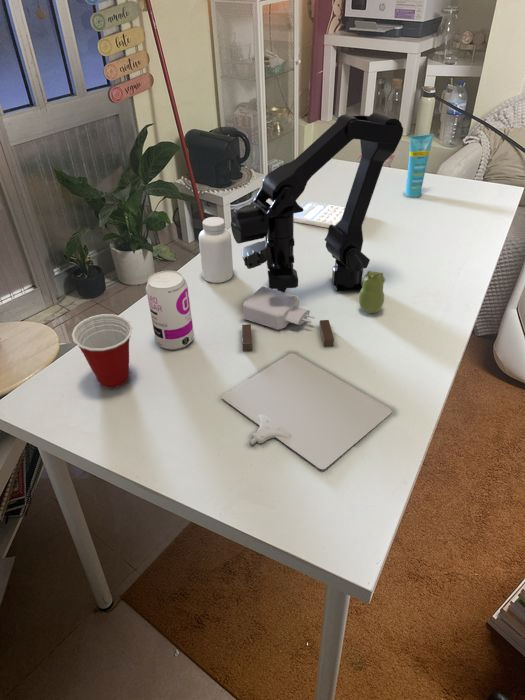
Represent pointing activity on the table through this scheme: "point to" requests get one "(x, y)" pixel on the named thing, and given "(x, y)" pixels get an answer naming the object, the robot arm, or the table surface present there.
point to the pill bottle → (215, 250)
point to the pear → (372, 292)
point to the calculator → (319, 214)
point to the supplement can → (170, 309)
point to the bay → (323, 325)
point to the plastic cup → (105, 347)
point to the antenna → (306, 409)
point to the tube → (417, 163)
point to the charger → (274, 309)
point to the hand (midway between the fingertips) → (280, 294)
